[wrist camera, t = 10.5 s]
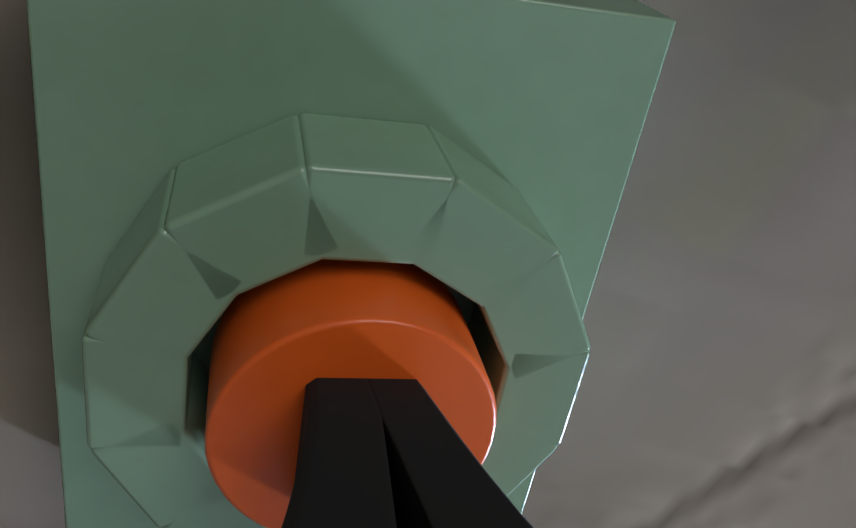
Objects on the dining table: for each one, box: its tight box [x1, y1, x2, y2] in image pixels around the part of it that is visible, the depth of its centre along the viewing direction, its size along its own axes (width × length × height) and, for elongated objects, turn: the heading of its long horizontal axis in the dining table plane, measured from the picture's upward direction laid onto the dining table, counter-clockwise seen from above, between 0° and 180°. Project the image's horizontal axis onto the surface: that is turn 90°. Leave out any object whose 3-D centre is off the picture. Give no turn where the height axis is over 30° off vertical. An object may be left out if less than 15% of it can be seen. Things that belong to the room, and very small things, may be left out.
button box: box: [26, 0, 675, 528], centre depth 12 cm, size 10×8×4 cm
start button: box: [204, 259, 497, 528], centre depth 10 cm, size 4×4×2 cm
